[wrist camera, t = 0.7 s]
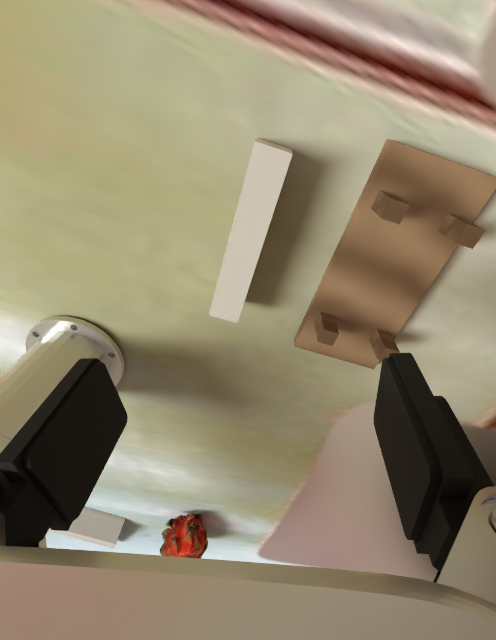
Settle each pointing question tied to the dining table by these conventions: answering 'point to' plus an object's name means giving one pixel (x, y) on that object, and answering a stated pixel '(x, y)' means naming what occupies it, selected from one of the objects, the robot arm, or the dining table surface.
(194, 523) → the dragon fruit
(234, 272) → the clay strip
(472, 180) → the plank with four pegs
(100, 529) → the white wedge ramp
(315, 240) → the dining table surface
